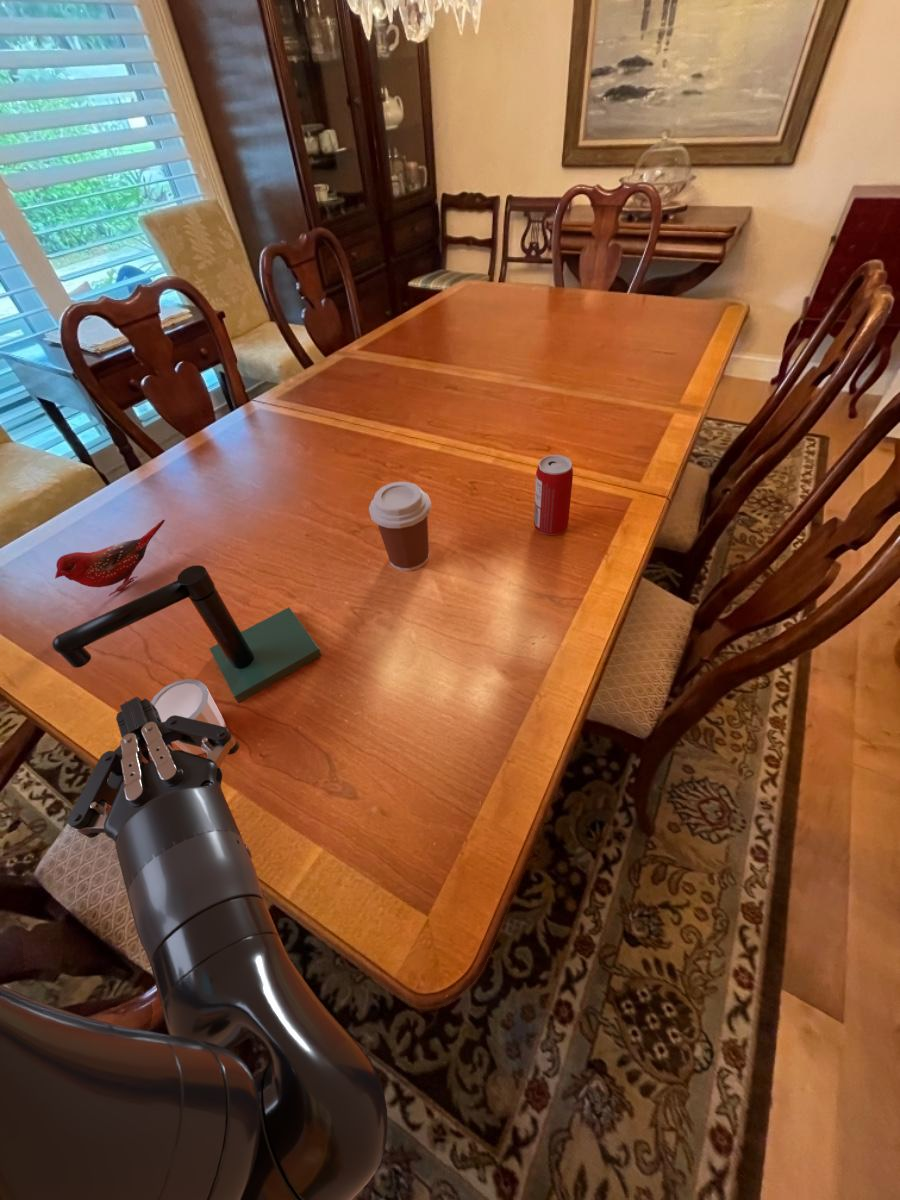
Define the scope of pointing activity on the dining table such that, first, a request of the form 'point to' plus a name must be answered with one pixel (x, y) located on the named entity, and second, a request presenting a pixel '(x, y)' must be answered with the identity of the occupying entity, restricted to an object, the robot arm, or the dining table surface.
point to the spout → (132, 614)
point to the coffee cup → (403, 523)
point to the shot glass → (188, 706)
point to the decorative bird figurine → (106, 563)
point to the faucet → (255, 647)
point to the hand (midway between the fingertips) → (133, 706)
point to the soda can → (553, 494)
